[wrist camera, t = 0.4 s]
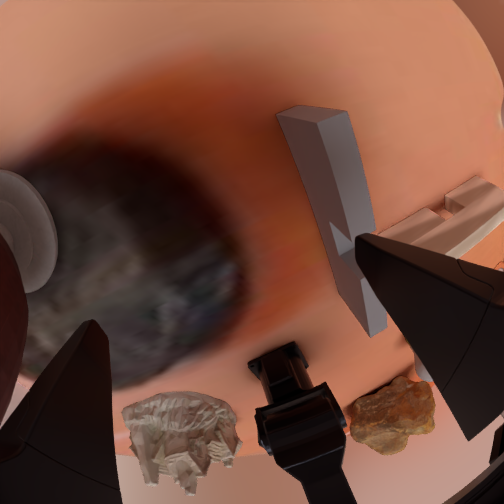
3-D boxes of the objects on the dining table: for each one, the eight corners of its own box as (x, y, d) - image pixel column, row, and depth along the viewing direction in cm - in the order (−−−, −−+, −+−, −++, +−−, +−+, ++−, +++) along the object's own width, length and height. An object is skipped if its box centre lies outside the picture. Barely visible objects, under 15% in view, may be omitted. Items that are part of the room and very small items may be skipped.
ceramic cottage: (107, 408, 33) (115, 500, 21) (200, 376, 33) (229, 485, 21) (165, 436, 42) (180, 507, 30) (244, 411, 42) (271, 487, 31)
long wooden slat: (475, 188, 28) (513, 210, 22) (380, 249, 28) (419, 286, 22) (475, 175, 27) (515, 196, 21) (377, 234, 27) (420, 271, 21)
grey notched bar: (354, 285, 30) (387, 327, 24) (339, 293, 30) (370, 337, 24) (298, 105, 19) (347, 111, 13) (275, 114, 19) (316, 122, 13)
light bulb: (398, 329, 38) (433, 376, 30) (423, 316, 38) (458, 358, 30) (392, 349, 41) (422, 393, 32) (416, 336, 41) (447, 377, 33)
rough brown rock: (354, 377, 44) (383, 448, 32) (424, 355, 46) (456, 412, 33) (328, 424, 57) (344, 476, 44) (386, 407, 58) (406, 453, 46)
